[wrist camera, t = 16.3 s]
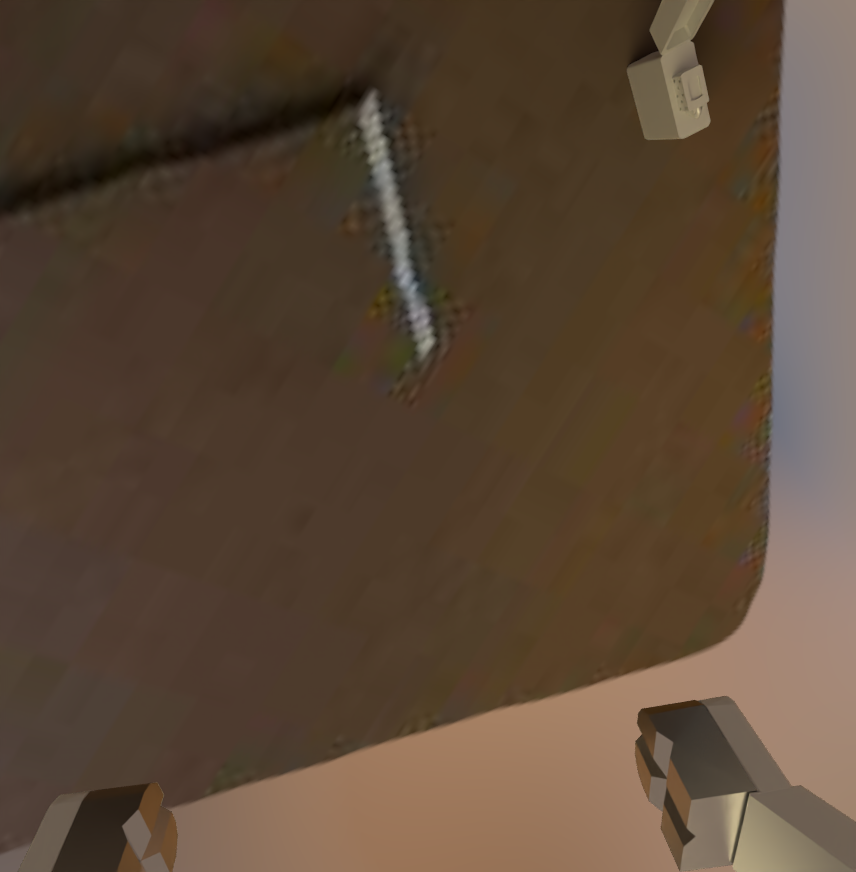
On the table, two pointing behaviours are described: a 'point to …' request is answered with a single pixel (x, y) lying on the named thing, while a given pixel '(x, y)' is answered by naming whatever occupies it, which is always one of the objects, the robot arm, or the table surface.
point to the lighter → (672, 74)
